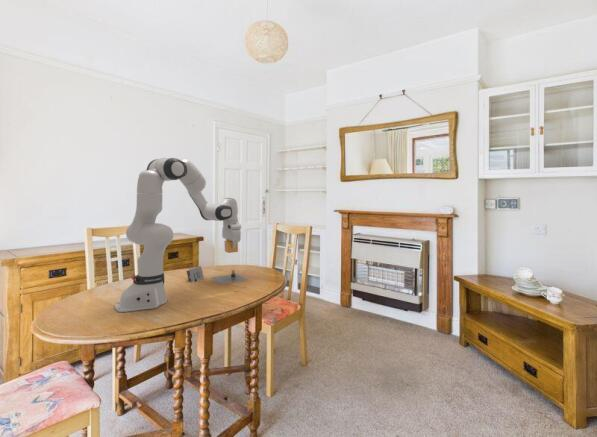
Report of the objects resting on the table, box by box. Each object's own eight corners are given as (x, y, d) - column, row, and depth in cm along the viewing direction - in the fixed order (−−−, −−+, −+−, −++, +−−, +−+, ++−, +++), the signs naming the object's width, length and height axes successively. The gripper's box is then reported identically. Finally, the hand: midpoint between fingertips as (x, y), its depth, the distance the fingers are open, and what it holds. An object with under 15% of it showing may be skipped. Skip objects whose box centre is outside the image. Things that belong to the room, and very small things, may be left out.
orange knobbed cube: (228, 253, 189) (228, 239, 188) (224, 251, 194) (224, 238, 193) (237, 251, 193) (237, 238, 192) (234, 250, 197) (233, 237, 197)
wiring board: (219, 286, 181) (219, 277, 180) (210, 280, 194) (209, 271, 193) (248, 281, 191) (248, 273, 190) (237, 276, 204) (237, 267, 203)
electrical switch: (192, 285, 183) (191, 269, 183) (186, 284, 186) (185, 269, 186) (204, 281, 192) (203, 266, 191) (198, 280, 194) (197, 265, 194)
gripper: (219, 223, 198) (220, 245, 200) (232, 226, 182) (232, 250, 183) (228, 222, 202) (229, 244, 203) (242, 226, 185) (242, 249, 187)
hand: (231, 247), depth 193 cm, fingers closed on orange knobbed cube, 6 cm apart
